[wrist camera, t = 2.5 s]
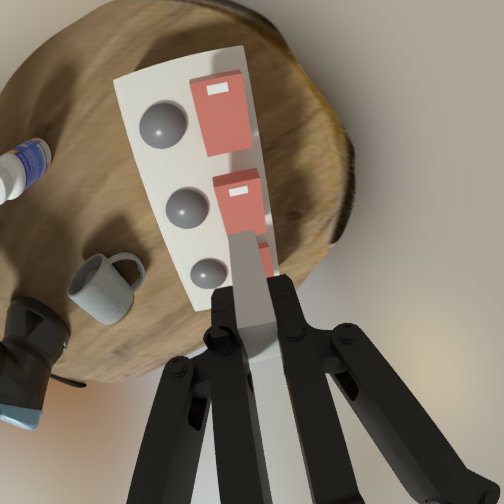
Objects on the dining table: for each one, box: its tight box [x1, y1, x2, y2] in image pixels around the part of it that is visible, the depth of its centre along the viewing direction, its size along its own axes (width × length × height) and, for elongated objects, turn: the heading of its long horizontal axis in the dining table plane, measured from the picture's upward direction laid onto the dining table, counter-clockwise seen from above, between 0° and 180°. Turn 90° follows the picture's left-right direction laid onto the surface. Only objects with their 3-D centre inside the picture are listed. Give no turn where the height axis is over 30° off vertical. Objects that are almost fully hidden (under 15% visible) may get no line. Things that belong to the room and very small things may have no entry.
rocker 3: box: [258, 242, 274, 278], centre depth 31 cm, size 4×7×2 cm, turn 9°
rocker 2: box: [212, 168, 267, 238], centre depth 26 cm, size 4×7×2 cm, turn 9°
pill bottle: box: [0, 138, 51, 205], centre depth 20 cm, size 5×5×10 cm
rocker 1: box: [189, 69, 253, 157], centre depth 20 cm, size 4×7×2 cm, turn 9°
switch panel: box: [113, 45, 280, 312], centre depth 30 cm, size 12×34×6 cm, turn 9°
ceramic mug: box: [67, 252, 145, 326], centre depth 33 cm, size 11×8×8 cm
